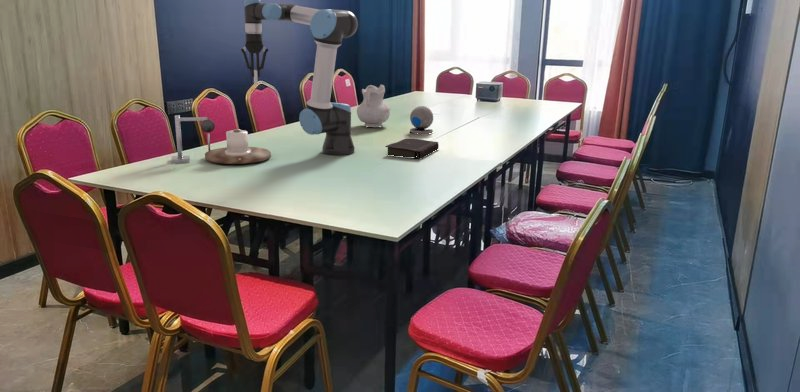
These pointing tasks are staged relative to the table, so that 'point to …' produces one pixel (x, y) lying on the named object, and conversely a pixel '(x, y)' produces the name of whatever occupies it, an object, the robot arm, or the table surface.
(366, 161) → the table surface
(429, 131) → the webcam
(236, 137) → the canister
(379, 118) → the ceramic pitcher
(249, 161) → the turntable
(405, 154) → the diary
